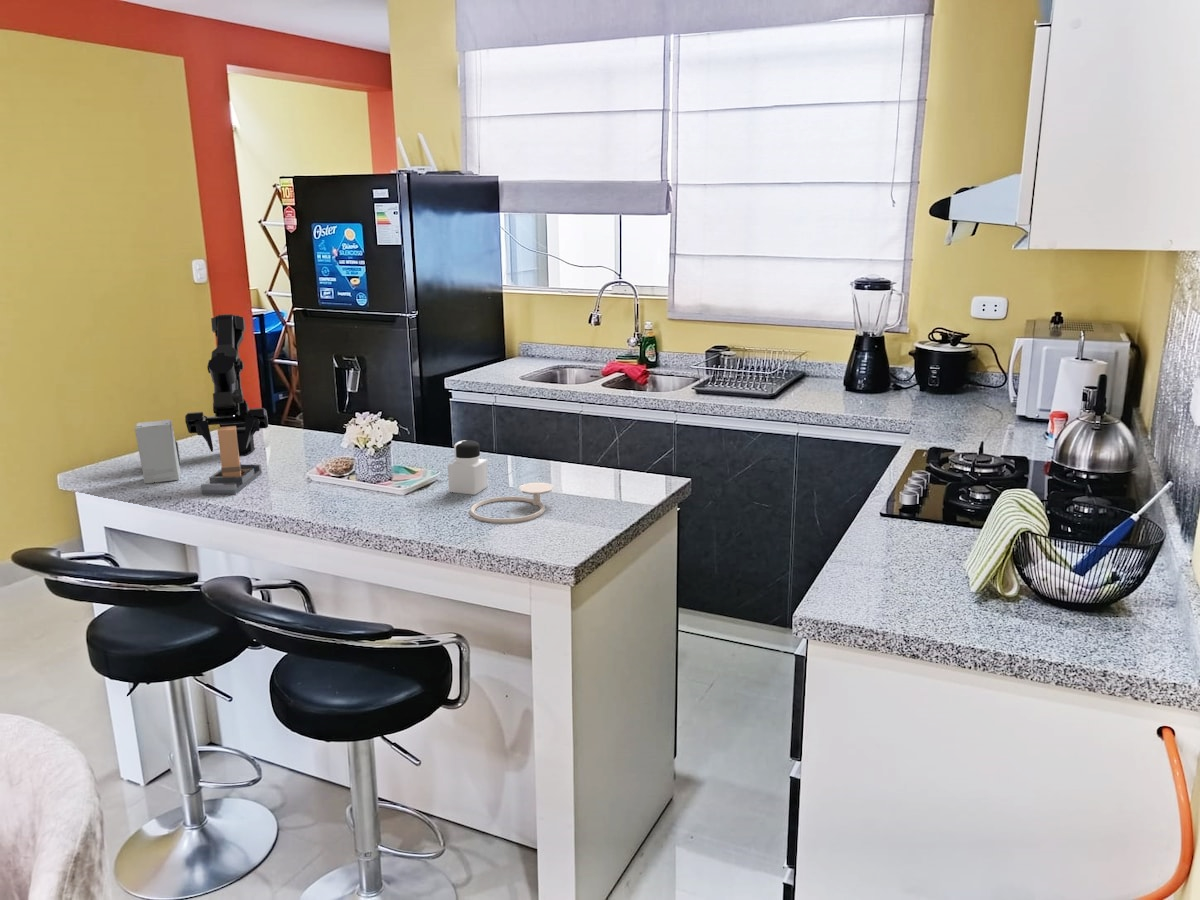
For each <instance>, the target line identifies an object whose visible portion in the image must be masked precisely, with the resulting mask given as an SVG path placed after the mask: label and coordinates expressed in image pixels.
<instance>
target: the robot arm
mask: <svg viewBox="0 0 1200 900" xmlns="http://www.w3.org/2000/svg"><path fill="white" fill-rule="evenodd" d="M210 320H211V332H213V334H214V333H215V337H216V348H215V349H213V350H212V351H211V357H210V358H211V359H209V360H208V363H207V366H206V367H207V371H208V374H210V377H211V381H212V384H213V392H214V393H212V412H213V414H214V415H213V416H206V415H204V412H203V411H198V412H195V411H194V412H187V414H185V416H184V417H185V419H184V420H185V421H184V422H185V425H186V428H187V431H188V433H189V434H196V435H198V436H201V437H203V439H204V440H205V441H206V444H207V446H208V447H209V450H210V452H214V445H213V439H212V436H211V435H212V434H211V430H210V426H214V425H219V427H228V426H236V431H237V440H238V449H239V456H247V455H249V454H251V453H252V452H253V451H254V450H256V448H255V442H254V441H255V440H254V435H255V434H256V432H260V430H261V429H267V428H269V420H268V418H269V417H268V411H267V409H266V408H264V407H256V408H250V407H249V404H248V402H247V401H246V400H245V398H244V391H243V389H242V379H241V373H242V372H243V369H244V368H245V363H244V362H243V360H242V358H240V353H239V349H240V348H239V347H240V346H241V345H242V343H243V340H244V332H246V322H245V321H246V320H245V318H244V317H243V316H240V315H235V314H233V313H232V314H227V313H226V314H218V315H215V316H214V317H211V319H210Z"/></svg>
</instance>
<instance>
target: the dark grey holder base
mask: <svg viewBox="0 0 1200 900" xmlns="http://www.w3.org/2000/svg"><path fill="white" fill-rule="evenodd" d="M261 473H262V465H261V464H241V476H240V477H223V474H222V469H219V470H218V471H216V472H214V474H212V475H211V476H209V477H208V478H209V479H208V480H209V481H208V482H209V483H201V485H200V488H201V489H200V490H201V495H202V494H235V495H237V494H238V493H240V492H241V491H242V490H243V489H244V488H246V487H247V486H248V485H249V484H251V483H252V482H253V481H254V480H256V479H257V478H258V477H259V476H260V475H262V474H263V473H262V474H261ZM256 477H257V478H256ZM251 481H252V482H251ZM247 484H248V485H247ZM246 485H247V486H246ZM241 489H242V490H241ZM236 493H237V494H236Z"/></svg>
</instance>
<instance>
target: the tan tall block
mask: <svg viewBox="0 0 1200 900" xmlns="http://www.w3.org/2000/svg"><path fill="white" fill-rule="evenodd" d="M217 435H218V436H217V437H218V447H219V455H220V463H221V464H220V465H221V469H222V474H223V477H240V476H241V465H242V464H241V463H242V462H240V460H241V459H240V455H239V449H238V440H237V431H236V426H228V427H220V426H218V428H217ZM221 469H220V470H221Z"/></svg>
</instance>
